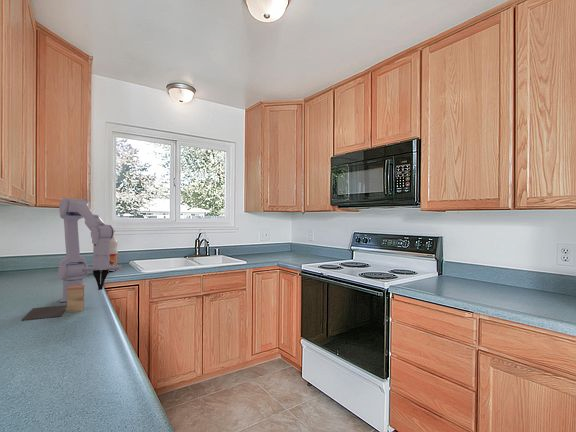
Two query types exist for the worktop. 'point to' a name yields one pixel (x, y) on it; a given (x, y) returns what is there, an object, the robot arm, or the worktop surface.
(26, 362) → the worktop surface
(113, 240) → the fruit juice
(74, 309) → the maple block
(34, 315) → the rubber mat
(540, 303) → the worktop surface
